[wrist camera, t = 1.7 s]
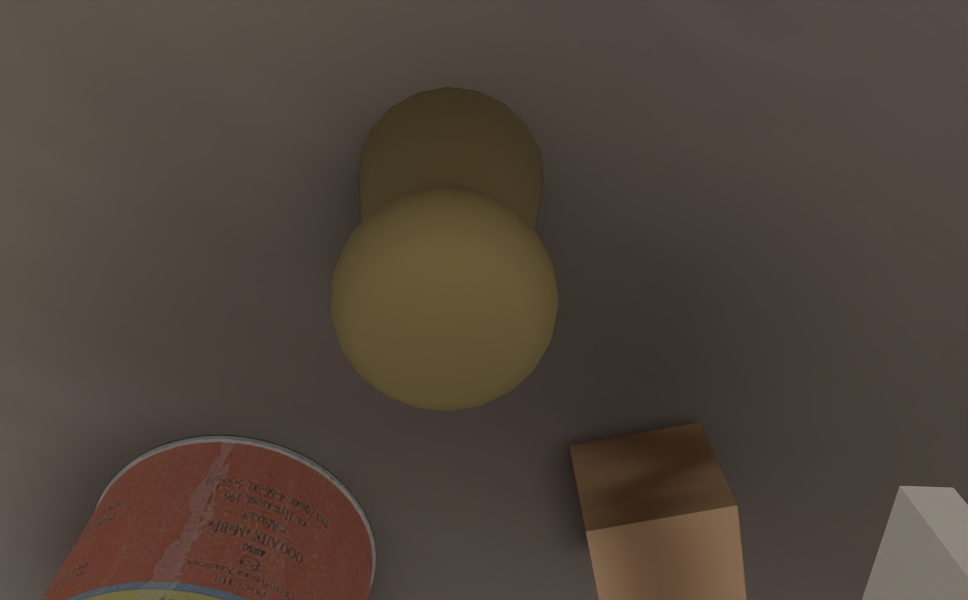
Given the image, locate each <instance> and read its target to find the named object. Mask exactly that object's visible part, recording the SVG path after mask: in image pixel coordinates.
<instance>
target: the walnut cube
mask: <svg viewBox="0 0 968 600" xmlns="http://www.w3.org/2000/svg"><path fill="white" fill-rule="evenodd" d="M569 447H570V453H571V458H572V463H573V468H574V473H575V478H576V484H577V489H578V494H579V499H580V504H581V509H582V515H583V520H584V525H585V530H586V535H587V540H588V546H589V551H590V556H591V561H592V566H593V571H594V577H595V582H596V587H597V592H598V597H599V600H747V599H746V588H745V578H744V567H743V557H742V546H741V536H740V525H739V515H738V505H737V503H736V501H735V498H734V496H733V494H732V492H731V490H730V487H729V485H728V483H727V481H726V479H725V476H724V474H723V472H722V470H721V468H720V465H719V463H718V461H717V459H716V457H715V454H714V452H713V450H712V448H711V446H710V443H709V441H708V439H707V437H706V435H705V432H704V430H703V428H702V426H701V424H700V422H696V423H690V424H685V425H679V426H674V427H668V428H662V429H657V430H651V431H646V432H640V433H635V434H629V435H624V436H618V437H612V438H607V439H601V440H596V441H590V442H585V443H579V444H574V445H569Z"/></svg>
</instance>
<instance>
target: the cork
mask: <svg viewBox="0 0 968 600" xmlns="http://www.w3.org/2000/svg"><path fill="white" fill-rule="evenodd" d="M542 183H543V173H542V167H541V160H540V154H539V150H538V148H537V146H536V144H535V142H534V140H533V138H532V136H531V134H530V132H529V130H528V128H527V126H526V125H525V124H524V123H523V122H522V121H521V120H520V119H519V118H518V117H517V116H516V115H515V114H514V113H513V112H512V111H511V110H510V109H509V108H508V107H507V106H506V105H505V104H503V103H501V102H499V101H497V100H494V99H492V98H490V97H488V96H486V95H484V94H482V93H480V92H478V91H471V90H464V89H457V88H449V87H447V88H441V89H436V90H430V91H425V92H419V93H417V94H415V95H413V96H411V97H410V98H408V99H406V100H404V101H402V102H400V103H399V104H397V105H395V106H393V107H392V108H391V109H390V110H389V111H388V112H387V113H386V114H385V116H384V117H383V118H382V119H381V120H380V121H379V122H378V123H377V124H376V125H375V126H374V128H373V129H372V131H371V133H370V136H369V138H368V140H367V143H366V145H365V147H364V149H363V152H362V154H361V164H360V176H359V193H360V212H361V224H360V225H359V226H358V227H357V228H356V229H355V230H354V231H353V232H352V233H351V234H350V235H349V237H348V240H347V242H346V244H345V246H344V249H343V251H342V253H341V255H340V257H339V260H338V262H337V264H336V267H335V269H334V271H333V274H332V283H331V297H330V311H331V316H332V320H333V323H334V327H335V330H336V334H337V337H338V341H339V345H340V348H341V350H342V351H343V353H344V354H345V356H346V357H347V359H348V360H349V362H350V363H351V364H352V366H353V367H354V369H355V370H356V372H357V373H358V375H359V376H361V377H362V378H363V379H365V380H366V381H367V382H368V383H370V384H371V385H372V386H374V387H375V388H376V389H377V390H379V391H380V392H381V393H383V394H384V395H386V396H388V397H390V398H393V399H395V400H398V401H400V402H403V403H405V404H408V405H410V406H413V407H415V408H419V409H429V410H438V411H454V410H460V409H466V408H472V407H478V406H481V405H483V404H485V403H487V402H489V401H491V400H494V399H496V398H498V397H500V396H502V395H504V394H506V393H509V392H510V391H512V390H513V389H514V388H515V387H516V386H517V385H518V384H519V383H521V382H522V381H523V380H524V379H525V378H526V377H527V376H528V375H530V374H531V373H532V372H533V371H534V370H535V368H536V366H537V365H538V363H539V361H540V359H541V358H542V356H543V354H544V353H545V351H546V349H547V348H548V346H549V344H550V342H551V339H552V336H553V332H554V327H555V322H556V316H557V311H558V306H559V297H558V291H557V284H556V278H555V271H554V267H553V264H552V260H551V258H550V256H549V254H548V253H547V251H546V249H545V247H544V245H543V243H542V241H541V240H540V238H539V236H538V234H537V232H536V230H535V228H536V222H537V215H538V209H539V202H540V196H541V190H542Z"/></svg>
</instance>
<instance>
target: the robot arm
mask: <svg viewBox="0 0 968 600" xmlns="http://www.w3.org/2000/svg"><path fill="white" fill-rule="evenodd" d="M862 600H968V505H967V504H966V502H965V501H964V500H963V499H962V498H961V496H960V495H959V494H958V493H957V492H956V490H955V489H954V488H949V487H919V486H900V487H899V490H898V493H897V496H896V499H895V502H894V505H893V508H892V511H891V514H890V517H889V520H888V523H887V526H886V529H885V532H884V535H883V538H882V541H881V544H880V547H879V550H878V553H877V556H876V559H875V562H874V565H873V568H872V571H871V574H870V577H869V580H868V583H867V586H866V589H865V592H864V595H863V598H862Z"/></svg>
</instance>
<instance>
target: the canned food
mask: <svg viewBox="0 0 968 600" xmlns="http://www.w3.org/2000/svg"><path fill="white" fill-rule="evenodd" d="M375 566H376V549H375V541H374V537H373V532H372V529H371V527H370V524H369V521H368V519H367V517H366V515H365V513H364V511H363V509H362V508H361V506H360V505H359V503H358V502H357V500H356V499H355V498H354V496H353V495H352V494H351V493H350V491H349V490H348V489H347V488H346V487H345V486H344V485H343V484H342V483H341V482H340V481H339V480H338V479H337V478H336V477H334V476H333V475H332V474H331V473H330V472H328V471H327V470H326V469H324V468H323V467H321V466H320V465H318V464H317V463H315V462H313V461H312V460H310V459H308V458H307V457H305V456H303V455H300V454H298V453H296V452H294V451H292V450H289V449H287V448H284V447H282V446H279V445H276V444H272V443H269V442H265V441H261V440H256V439H251V438H244V437H236V436H203V437H194V438H188V439H183V440H178V441H175V442H171V443H168V444H165V445H162V446H160V447H157V448H155V449H152V450H150V451H148V452H147V453H145V454H143V455H141V456H139V457H138V458H136V459H135V460H133V461H132V462H130V463H129V464H128V465H127V466H125V467H124V468H123V469H122V470H121V471H120V472H119V473H118V474H117V475H116V476H115V477H114V478H113V479H112V480H111V482H110V483H109V485H108V486H107V487H106V489H105V490H104V492H103V494H102V496H101V497H100V499H99V501H98V503H97V506H96V509H95V511H94V513H93V515H92V517H91V518H90V520H89V521H88V523H87V525H86V526H85V528H84V530H83V531H82V533H81V535H80V536H79V538H78V540H77V541H76V543H75V544H74V546H73V548H72V549H71V551H70V553H69V554H68V556H67V558H66V559H65V561H64V562H63V564H62V566H61V567H60V569H59V571H58V572H57V574H56V576H55V577H54V579H53V580H52V582H51V584H50V585H49V587H48V589H47V590H46V592H45V594H44V595H43V597H42V599H41V600H368V598H369V591H370V589H371V586H372V582H373V578H374V573H375Z"/></svg>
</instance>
